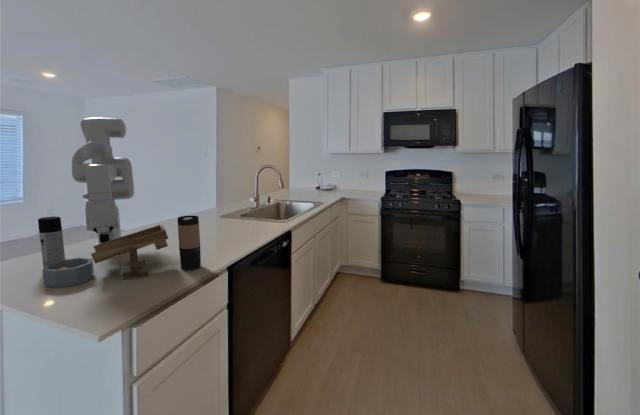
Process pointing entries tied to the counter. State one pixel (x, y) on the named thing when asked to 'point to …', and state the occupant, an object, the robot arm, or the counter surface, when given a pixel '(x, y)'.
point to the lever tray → (130, 243)
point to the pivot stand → (134, 267)
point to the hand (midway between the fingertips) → (104, 243)
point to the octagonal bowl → (68, 272)
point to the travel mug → (189, 242)
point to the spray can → (51, 239)
